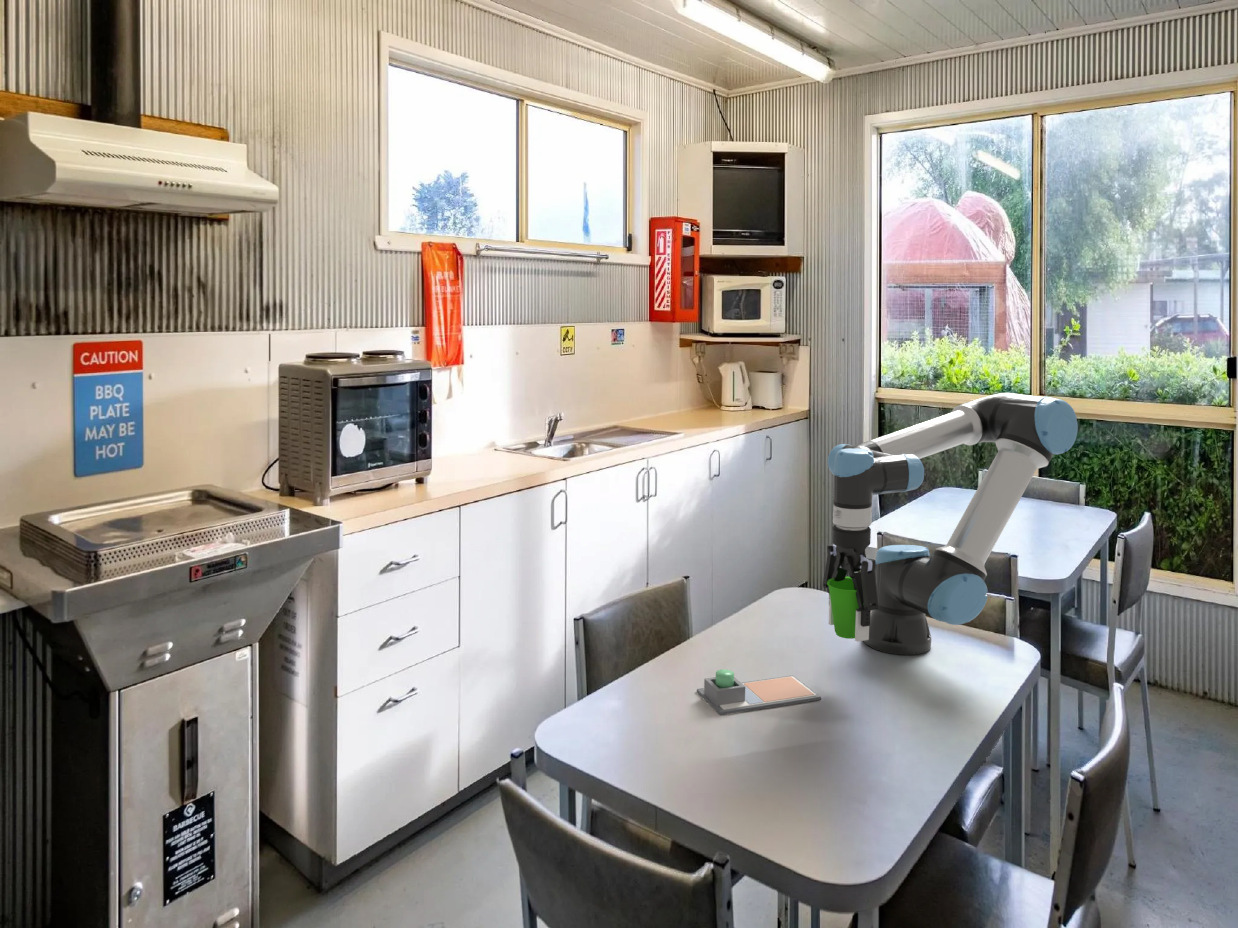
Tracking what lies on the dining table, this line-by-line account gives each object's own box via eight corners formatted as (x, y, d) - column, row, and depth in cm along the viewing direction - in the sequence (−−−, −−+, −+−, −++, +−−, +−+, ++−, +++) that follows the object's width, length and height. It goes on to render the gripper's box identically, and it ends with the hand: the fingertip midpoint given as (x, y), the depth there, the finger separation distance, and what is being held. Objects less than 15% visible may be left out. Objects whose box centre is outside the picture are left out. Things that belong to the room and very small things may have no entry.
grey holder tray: (792, 677, 186) (793, 660, 186) (820, 699, 176) (821, 681, 176) (696, 691, 179) (697, 673, 179) (720, 715, 169) (720, 696, 169)
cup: (872, 643, 178) (874, 591, 176) (825, 641, 180) (827, 589, 178) (869, 627, 187) (870, 577, 185) (824, 625, 188) (826, 575, 186)
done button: (728, 682, 177) (729, 668, 177) (736, 689, 174) (737, 675, 173) (712, 684, 176) (712, 670, 176) (720, 692, 173) (720, 677, 172)
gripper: (807, 515, 188) (804, 616, 192) (867, 541, 168) (863, 653, 172) (837, 512, 190) (835, 612, 194) (900, 537, 170) (896, 648, 174)
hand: (848, 631), depth 183 cm, fingers closed on cup, 9 cm apart
